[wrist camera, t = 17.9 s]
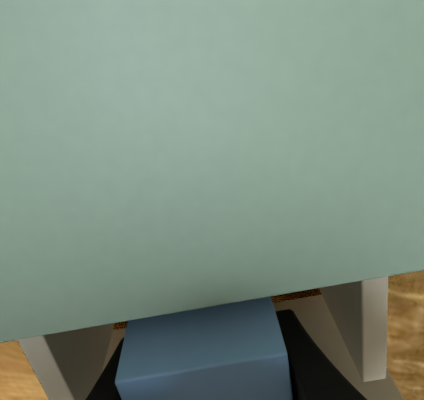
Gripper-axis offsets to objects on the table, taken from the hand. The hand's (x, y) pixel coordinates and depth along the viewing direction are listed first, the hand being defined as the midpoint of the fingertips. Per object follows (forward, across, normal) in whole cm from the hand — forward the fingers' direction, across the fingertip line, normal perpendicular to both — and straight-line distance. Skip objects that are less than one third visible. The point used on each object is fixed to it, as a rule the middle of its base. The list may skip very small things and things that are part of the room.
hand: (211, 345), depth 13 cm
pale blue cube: (+1, 0, 0) cm, 1 cm away
